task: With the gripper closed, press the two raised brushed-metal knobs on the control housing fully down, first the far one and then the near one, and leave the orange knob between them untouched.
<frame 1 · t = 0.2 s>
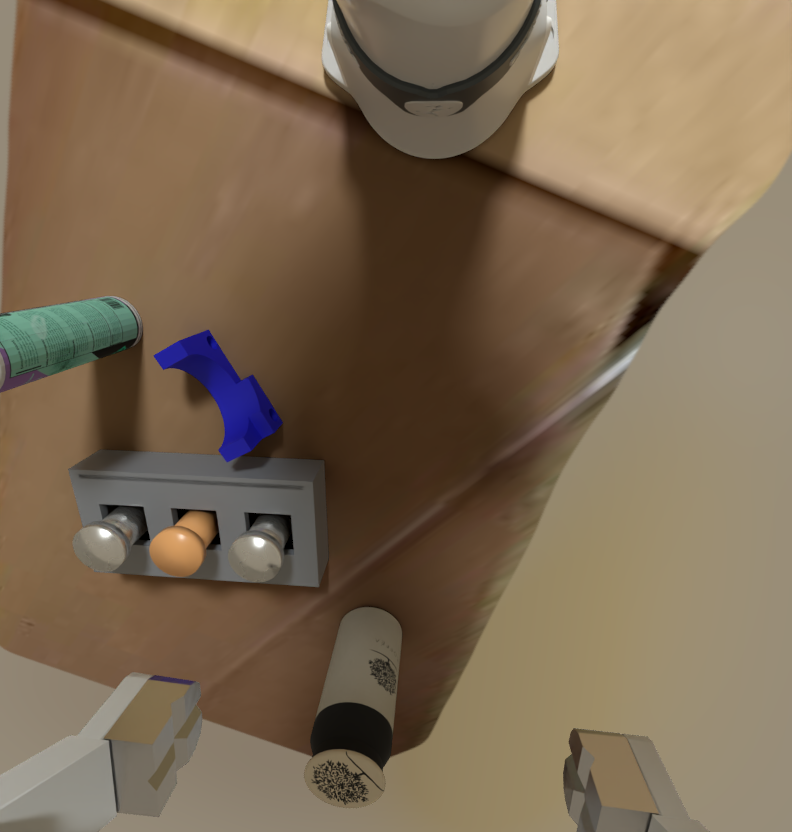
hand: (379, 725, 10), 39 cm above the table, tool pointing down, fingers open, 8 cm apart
spray can: (118, 322, 49), on the table
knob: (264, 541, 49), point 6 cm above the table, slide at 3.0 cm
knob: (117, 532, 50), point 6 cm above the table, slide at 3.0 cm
travel mug: (371, 628, 60), on the table
housing: (217, 505, 55), on the table
orange knob: (190, 537, 49), point 6 cm above the table, slide at 3.0 cm
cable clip: (236, 382, 50), on the table
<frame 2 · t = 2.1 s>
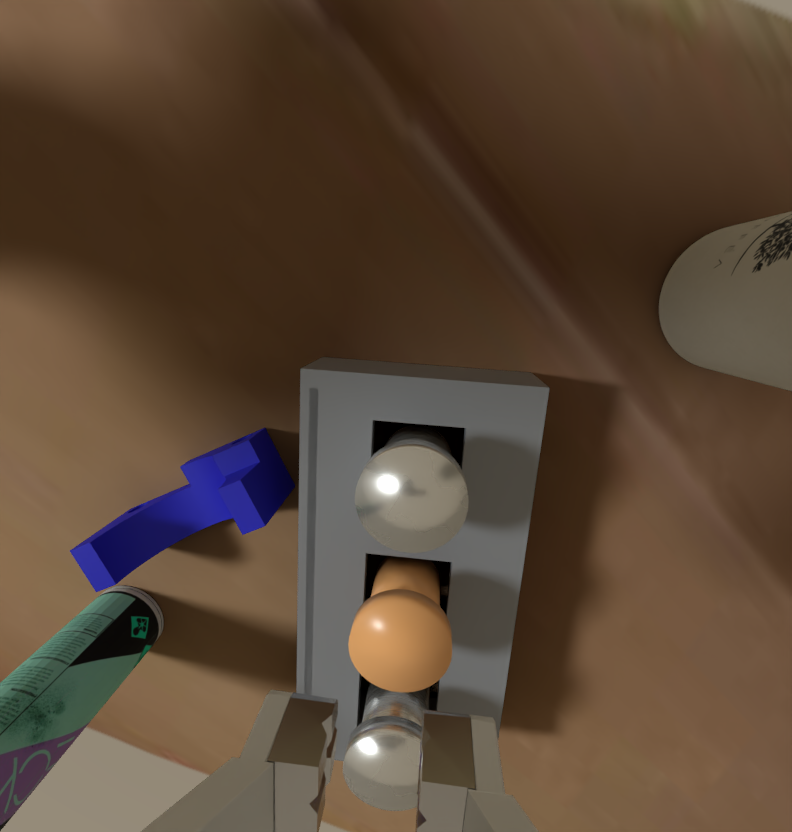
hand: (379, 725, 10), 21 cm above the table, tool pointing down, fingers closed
spray can: (131, 615, 36), on the table
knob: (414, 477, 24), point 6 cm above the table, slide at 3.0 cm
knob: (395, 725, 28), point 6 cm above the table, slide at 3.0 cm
travel mug: (726, 300, 27), on the table
housing: (410, 551, 33), on the table
orange knob: (404, 610, 26), point 6 cm above the table, slide at 3.0 cm
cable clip: (208, 486, 33), on the table
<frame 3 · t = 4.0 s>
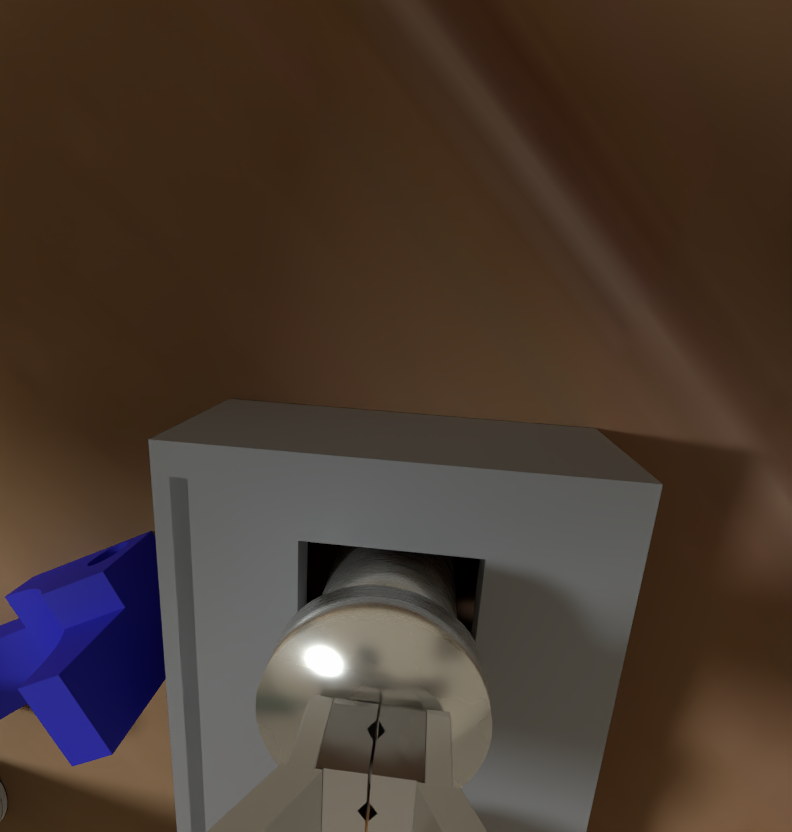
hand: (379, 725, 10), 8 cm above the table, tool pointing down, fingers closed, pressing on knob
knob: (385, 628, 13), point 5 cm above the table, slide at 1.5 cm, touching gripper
housing: (386, 710, 20), on the table
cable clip: (67, 615, 21), on the table
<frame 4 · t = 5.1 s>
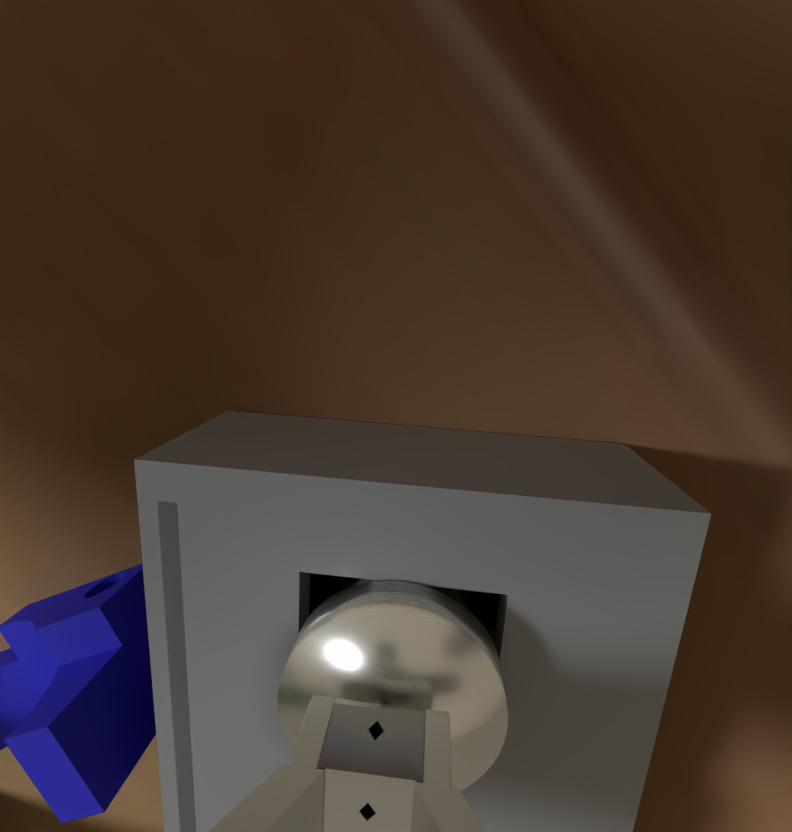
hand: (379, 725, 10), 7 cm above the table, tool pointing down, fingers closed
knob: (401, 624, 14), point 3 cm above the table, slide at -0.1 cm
housing: (395, 742, 19), on the table
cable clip: (64, 644, 20), on the table
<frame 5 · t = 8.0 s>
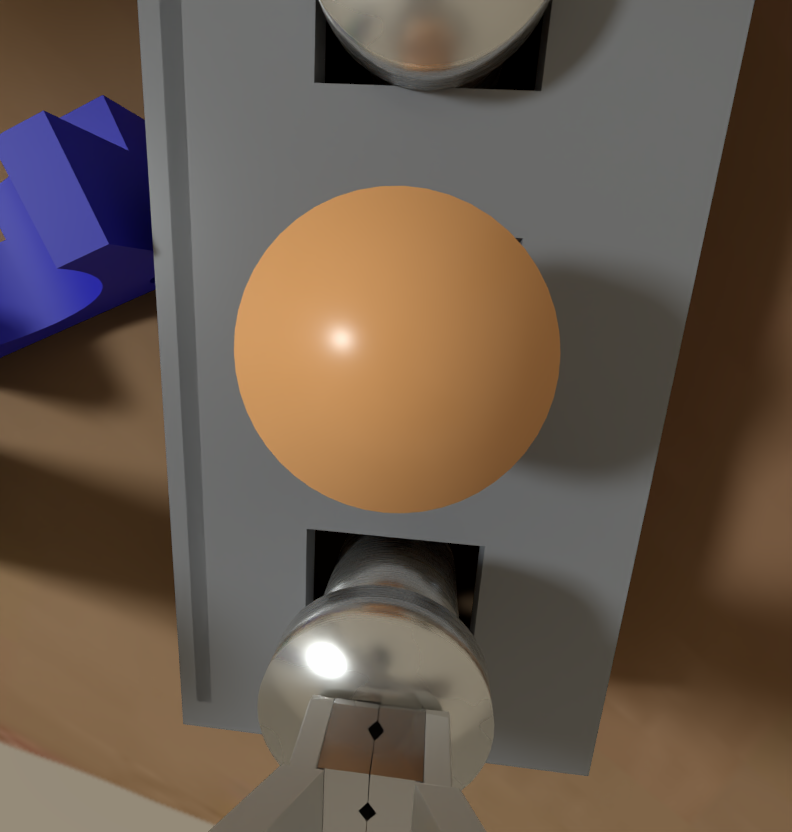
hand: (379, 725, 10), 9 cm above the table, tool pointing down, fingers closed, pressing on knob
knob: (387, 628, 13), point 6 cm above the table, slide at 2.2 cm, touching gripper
housing: (416, 326, 17), on the table
orange knob: (404, 344, 10), point 6 cm above the table, slide at 3.0 cm
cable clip: (56, 264, 18), on the table
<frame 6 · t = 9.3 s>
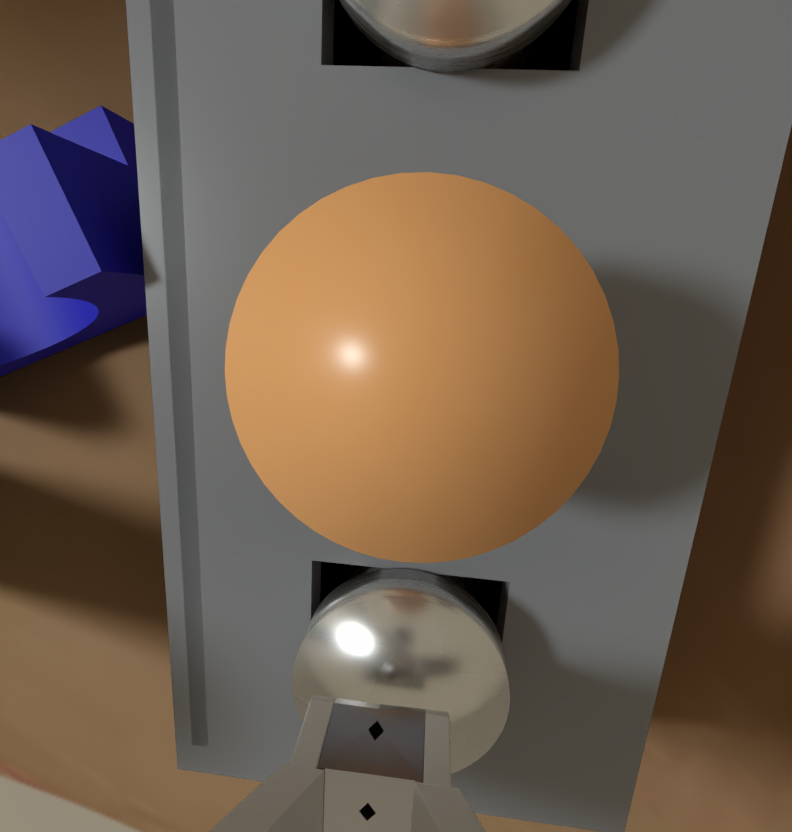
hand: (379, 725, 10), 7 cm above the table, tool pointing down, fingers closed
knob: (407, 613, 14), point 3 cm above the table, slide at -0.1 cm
housing: (431, 335, 15), on the table
orange knob: (423, 359, 9), point 6 cm above the table, slide at 3.0 cm
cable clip: (54, 282, 17), on the table
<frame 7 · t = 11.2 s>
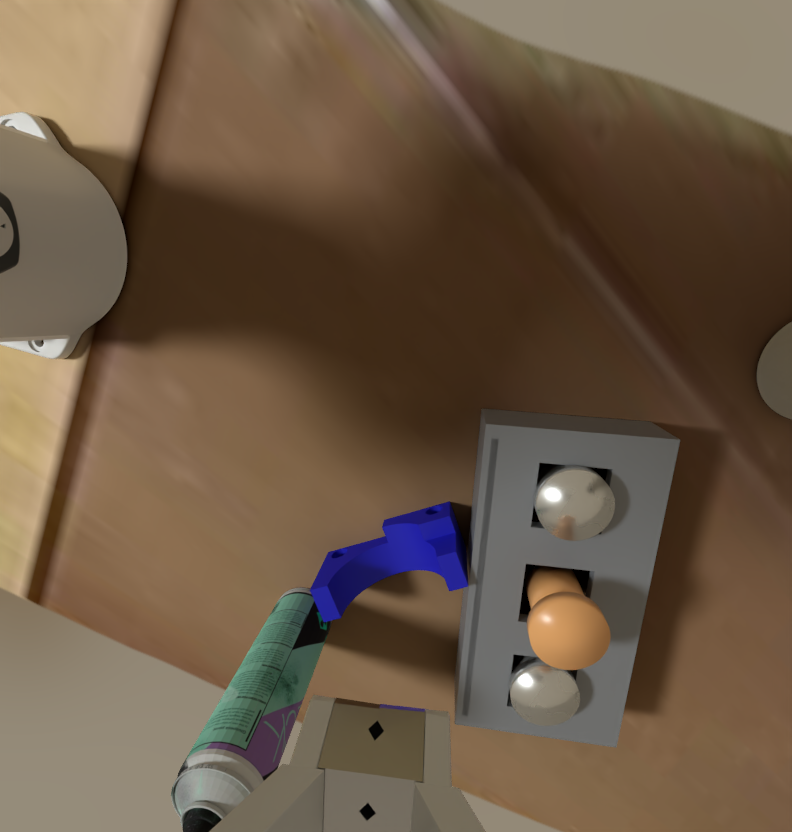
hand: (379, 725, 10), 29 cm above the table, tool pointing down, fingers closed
spray can: (305, 611, 45), on the table
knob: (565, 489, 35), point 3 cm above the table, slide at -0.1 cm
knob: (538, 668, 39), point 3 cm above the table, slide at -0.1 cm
housing: (543, 561, 40), on the table
orange knob: (559, 608, 34), point 6 cm above the table, slide at 3.0 cm
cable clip: (393, 540, 42), on the table
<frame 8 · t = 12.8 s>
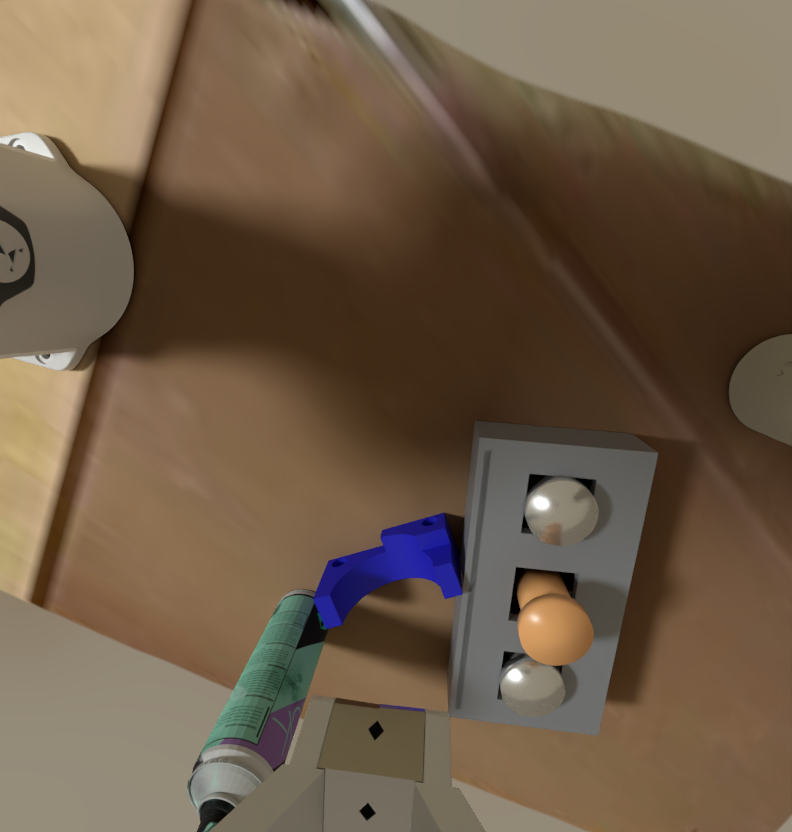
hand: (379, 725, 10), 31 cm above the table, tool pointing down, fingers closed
spray can: (305, 612, 47), on the table
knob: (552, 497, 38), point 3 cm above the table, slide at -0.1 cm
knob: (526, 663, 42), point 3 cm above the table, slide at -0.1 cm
travel mug: (777, 384, 38), on the table
housing: (531, 563, 43), on the table
orange knob: (547, 608, 37), point 6 cm above the table, slide at 3.0 cm
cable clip: (390, 549, 44), on the table
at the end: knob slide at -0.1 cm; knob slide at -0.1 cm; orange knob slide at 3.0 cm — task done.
